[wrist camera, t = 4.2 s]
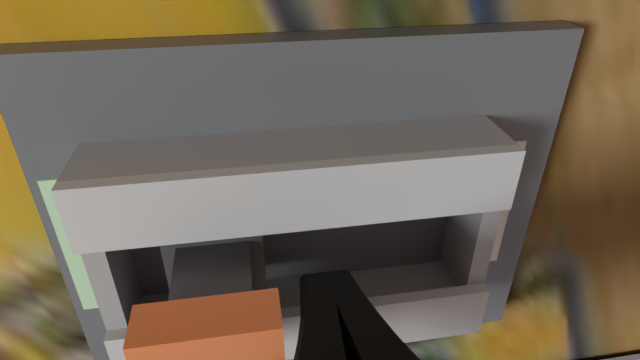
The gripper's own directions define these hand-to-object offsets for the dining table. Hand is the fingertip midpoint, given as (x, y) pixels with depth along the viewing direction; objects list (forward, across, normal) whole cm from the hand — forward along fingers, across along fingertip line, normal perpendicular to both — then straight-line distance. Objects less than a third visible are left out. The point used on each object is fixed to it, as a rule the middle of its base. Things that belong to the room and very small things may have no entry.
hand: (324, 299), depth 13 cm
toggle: (+3, +3, 0) cm, 4 cm away
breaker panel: (+4, 0, 0) cm, 4 cm away
